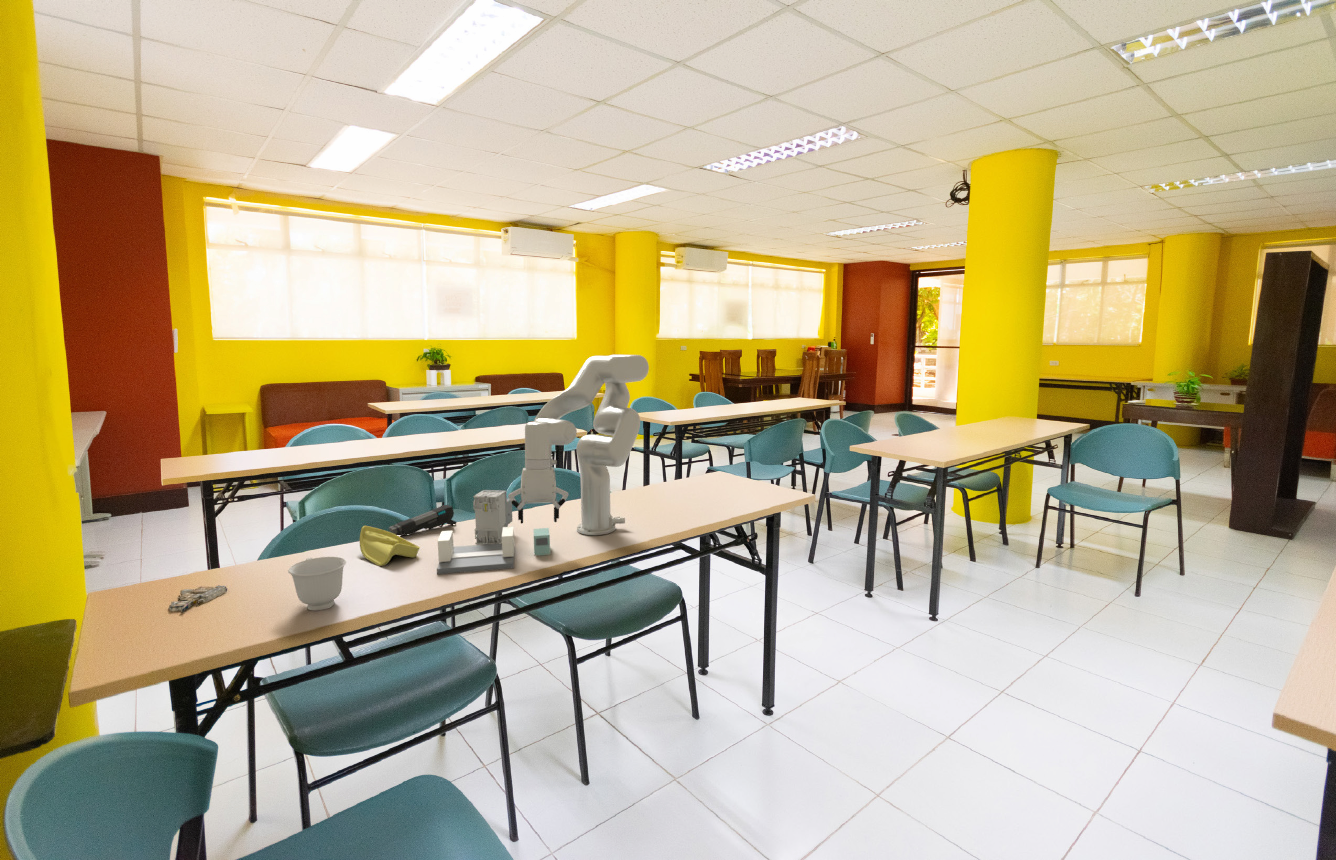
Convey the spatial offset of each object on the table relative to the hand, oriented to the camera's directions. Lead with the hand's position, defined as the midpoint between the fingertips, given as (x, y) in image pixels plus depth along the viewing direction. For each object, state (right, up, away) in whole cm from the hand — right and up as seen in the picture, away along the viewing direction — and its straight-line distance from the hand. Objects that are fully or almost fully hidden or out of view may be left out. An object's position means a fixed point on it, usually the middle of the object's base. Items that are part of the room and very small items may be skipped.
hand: (538, 521), depth 186 cm
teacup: (-45, -15, -34) cm, 59 cm away
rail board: (-16, -10, -5) cm, 20 cm away
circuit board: (-76, -15, -32) cm, 84 cm away
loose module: (+1, -9, +2) cm, 9 cm away
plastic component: (-44, -10, 0) cm, 45 cm away
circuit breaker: (-17, -7, +16) cm, 24 cm away
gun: (-42, -7, +22) cm, 48 cm away
